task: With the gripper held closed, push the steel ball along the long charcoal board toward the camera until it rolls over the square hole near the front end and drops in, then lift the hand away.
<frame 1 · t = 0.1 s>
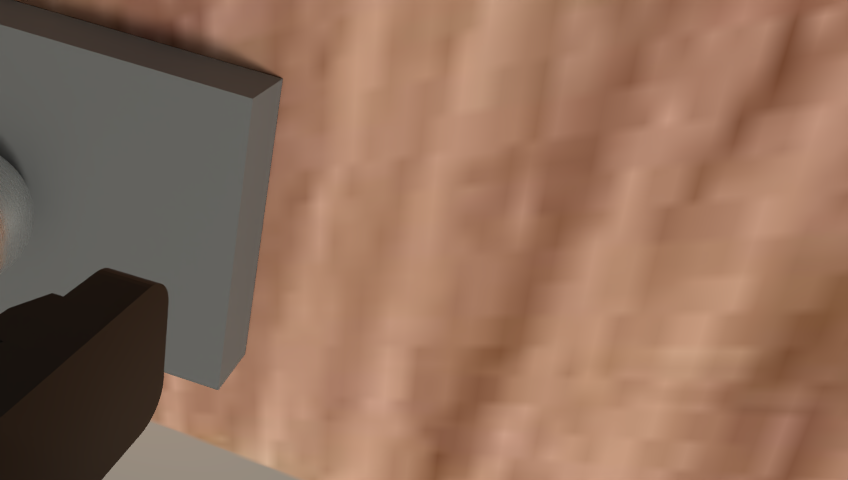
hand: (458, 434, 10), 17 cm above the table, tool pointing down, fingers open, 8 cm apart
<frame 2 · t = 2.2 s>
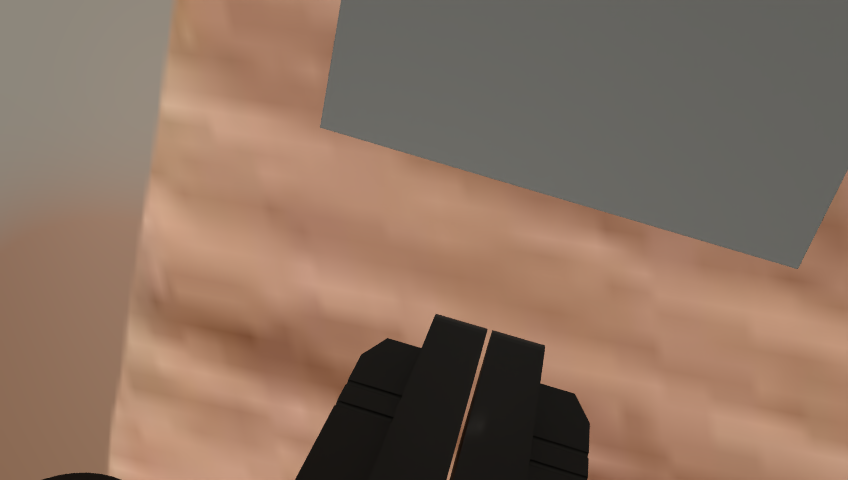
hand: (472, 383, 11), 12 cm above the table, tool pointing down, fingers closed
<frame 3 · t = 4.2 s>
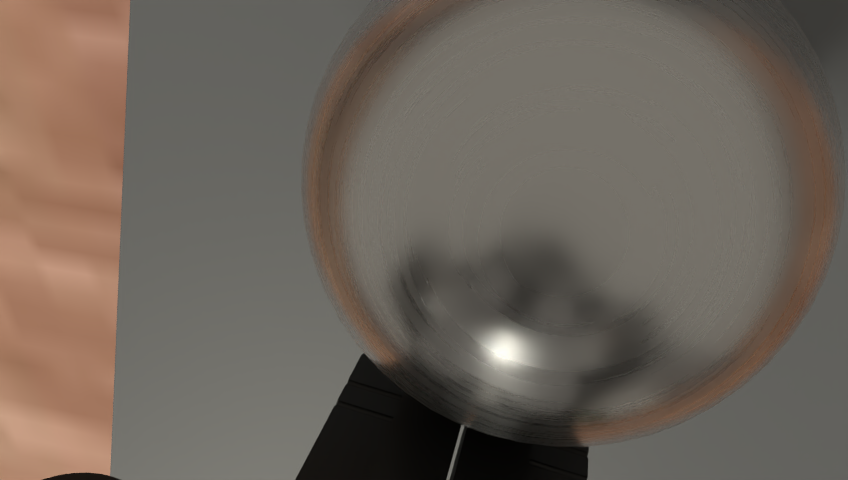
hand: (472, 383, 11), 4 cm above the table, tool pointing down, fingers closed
steel ball: (557, 185, 8), point 5 cm above the table, tilted 13°, touching gripper, hole board
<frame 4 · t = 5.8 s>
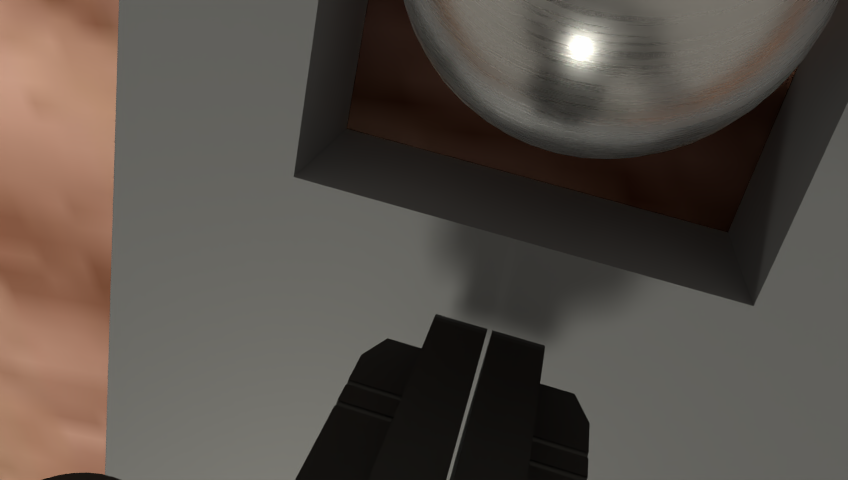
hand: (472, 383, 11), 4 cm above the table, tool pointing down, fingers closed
hole board: (479, 361, 15), on the table
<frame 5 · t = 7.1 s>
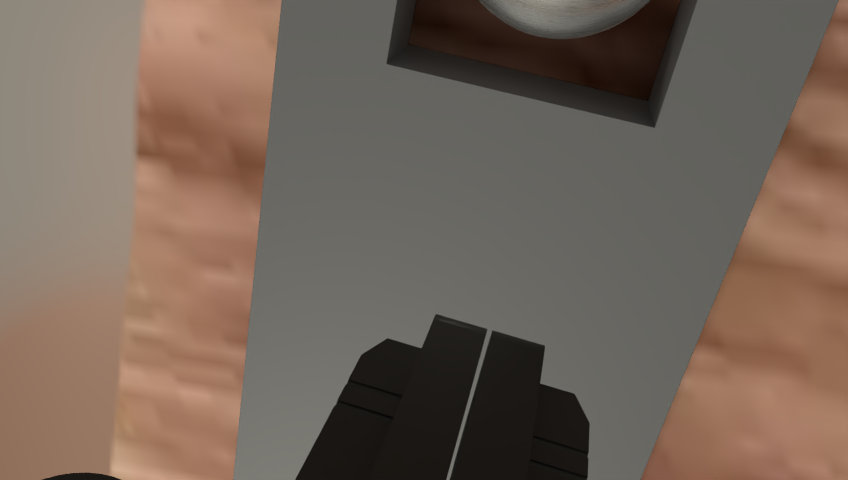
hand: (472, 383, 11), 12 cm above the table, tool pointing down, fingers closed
hole board: (494, 199, 22), on the table
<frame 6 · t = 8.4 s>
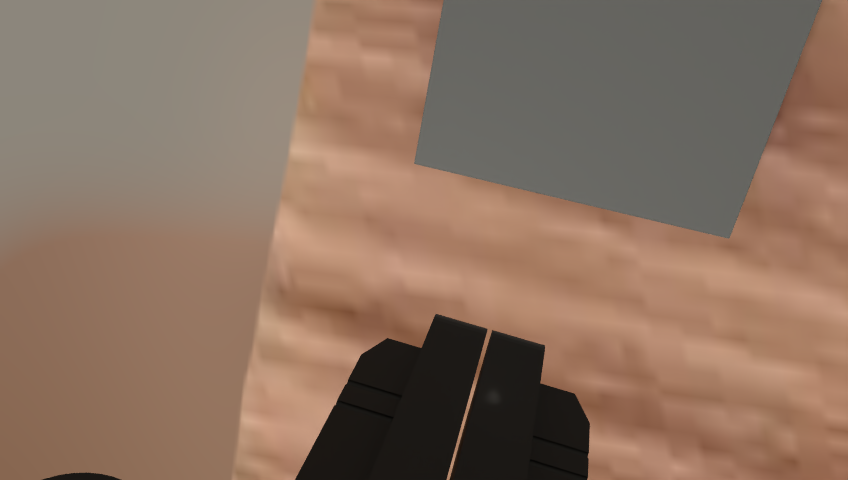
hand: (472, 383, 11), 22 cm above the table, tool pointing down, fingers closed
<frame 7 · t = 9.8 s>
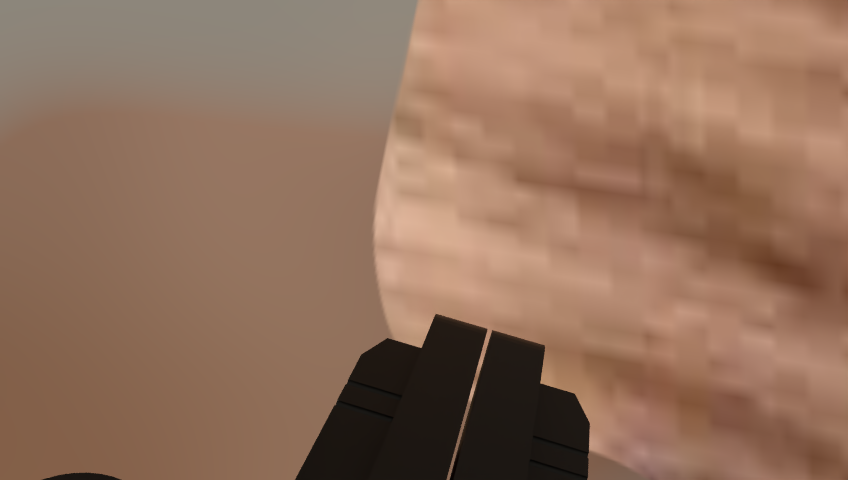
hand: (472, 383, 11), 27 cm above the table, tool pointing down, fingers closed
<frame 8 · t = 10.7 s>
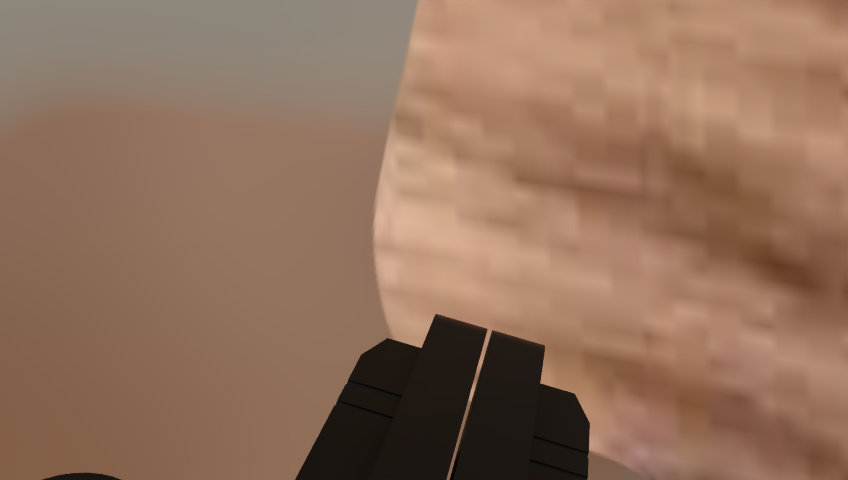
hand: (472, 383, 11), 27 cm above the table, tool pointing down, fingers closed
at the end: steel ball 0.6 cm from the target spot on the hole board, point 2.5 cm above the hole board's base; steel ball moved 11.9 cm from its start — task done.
